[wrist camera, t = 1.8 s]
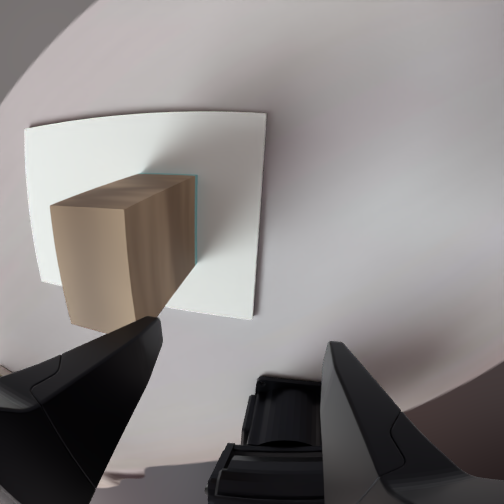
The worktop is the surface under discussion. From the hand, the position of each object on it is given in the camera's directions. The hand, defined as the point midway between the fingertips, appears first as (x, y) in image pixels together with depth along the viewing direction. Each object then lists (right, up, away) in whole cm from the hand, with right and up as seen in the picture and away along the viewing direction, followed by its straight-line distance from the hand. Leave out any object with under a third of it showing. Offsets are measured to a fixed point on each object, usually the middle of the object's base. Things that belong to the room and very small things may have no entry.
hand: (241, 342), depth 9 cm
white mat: (-9, +6, +12) cm, 16 cm away
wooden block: (-5, +5, +11) cm, 13 cm away
